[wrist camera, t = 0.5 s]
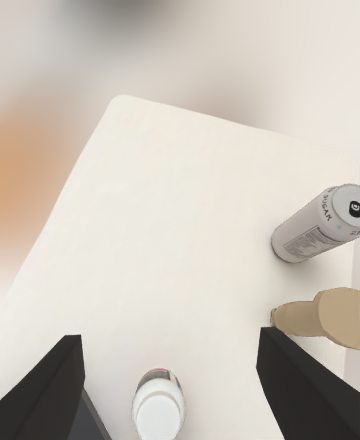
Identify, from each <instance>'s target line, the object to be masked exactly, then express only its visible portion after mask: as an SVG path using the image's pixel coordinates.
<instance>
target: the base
mask: <svg viewBox="0 0 360 440" xmlns="http://www.w3.org/2000/svg"><path fill="white" fill-rule="evenodd" d="M67 440H111V438H110V436H109V434H108V433H107V431H106V429H105V427H104V425H103V423H102V421H101V419H100V417H99V415H98V414H97V412H96V410H95V408H94V406H93V404H92V402H91V400H90V398H89V397H88V395H87V393H86V391H85V389H84V387H83V389H82V394H81V398H80V402H79V407H78V410H77V413H76V416H75V419H74V422H73V425H72V428H71V431H70V433H69V436H68V439H67Z"/></svg>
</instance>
